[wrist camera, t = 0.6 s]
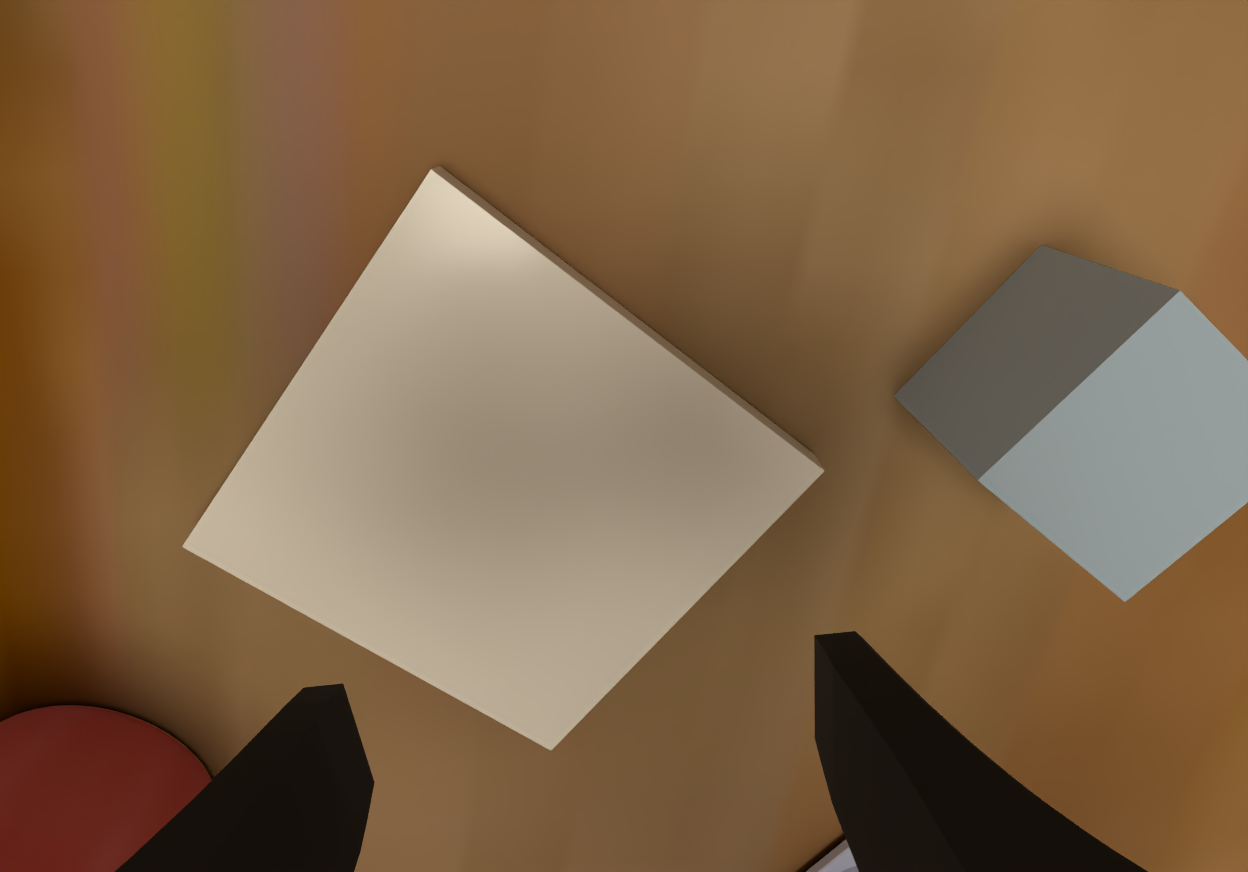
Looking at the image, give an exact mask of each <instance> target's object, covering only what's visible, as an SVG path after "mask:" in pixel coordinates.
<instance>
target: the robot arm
mask: <svg viewBox="0 0 1248 872" xmlns="http://www.w3.org/2000/svg"><path fill="white" fill-rule="evenodd" d="M815 740H816V744H817V748H818V752H819V756H820V760H821V763H822V767H823V771H824V775H825V778H826V782H827V786H828V789H829V793H830V796H831V800H832V804H833V806H834V809H835V812H836V814H837V817H838V819H839V822H840V825H841V827H842V830H843V832H844V835H845V838H846V840H844V841H843V842H842V843H841V844H839V845H838V846H837V847H836V848H834V849H833V850H832V851H831V852H829V853H828V854H827V855H826V856H825V857H823V858H822V859H821V860H820V861H818V862H817V863H816V864H815V865H813V866H812V867H811V868H810V869H808V870H807V871H806V872H1148V871H1146V870H1144V869H1143V868H1141V867H1140V866H1138V865H1136V864H1135V863H1133V862H1132V861H1130V860H1128V859H1127V858H1125V857H1124V856H1122V855H1120V854H1119V853H1117V852H1116V851H1114V850H1112V849H1111V848H1110V847H1108V846H1107V845H1105V844H1104V843H1102V842H1101V841H1099V840H1098V839H1096V838H1095V837H1093V836H1092V835H1090V834H1089V833H1087V832H1086V831H1084V830H1083V829H1081V828H1080V827H1079V826H1077V825H1076V824H1074V823H1073V822H1072V821H1070V820H1069V819H1067V818H1066V817H1065V816H1063V815H1062V814H1060V813H1059V812H1058V811H1056V810H1055V809H1053V808H1052V807H1051V806H1049V805H1048V804H1047V803H1045V802H1044V801H1042V800H1041V799H1040V798H1039V797H1037V796H1036V795H1035V794H1033V793H1032V792H1031V791H1029V790H1028V789H1027V788H1026V787H1024V786H1023V785H1022V784H1021V783H1019V782H1018V781H1017V780H1015V779H1014V778H1013V777H1012V776H1010V775H1009V774H1008V773H1007V772H1006V771H1004V770H1003V769H1002V768H1001V767H1000V766H998V765H997V764H996V763H995V762H994V761H992V760H991V759H990V758H989V757H987V756H986V755H985V754H984V753H983V752H982V751H980V750H979V749H978V748H977V747H976V746H975V745H973V744H972V743H971V742H970V741H969V740H968V739H967V738H965V737H964V736H963V735H962V734H961V733H960V732H959V731H958V730H957V729H955V728H954V727H953V726H952V725H951V724H950V723H949V722H948V721H947V720H946V719H944V718H943V717H942V716H941V715H940V714H939V713H938V712H937V711H936V710H935V709H934V708H932V707H931V706H930V705H929V704H928V703H927V702H926V701H925V700H924V699H923V698H922V697H921V696H920V695H919V694H918V693H917V692H916V691H915V690H914V689H913V688H912V687H911V686H910V685H909V684H907V683H906V682H905V681H904V680H903V679H902V678H901V677H900V676H899V675H898V674H897V673H896V672H895V671H894V670H893V669H892V668H891V667H890V666H889V665H888V664H887V663H886V661H885V660H884V659H883V658H882V657H881V656H880V655H879V654H878V653H877V652H876V651H875V650H874V649H873V648H872V647H871V646H870V645H869V644H868V643H867V642H866V641H865V640H864V639H863V638H862V637H861V636H860V635H859V634H858V633H856V632H855V631H853V632H843V633H833V634H823V635H815ZM373 787H374V780H373V777H372V774H371V770H370V767H369V764H368V761H367V758H366V755H365V751H364V748H363V745H362V742H361V739H360V736H359V732H358V729H357V726H356V723H355V720H354V717H353V713H352V710H351V707H350V704H349V701H348V698H347V694H346V691H345V688H344V685H343V684H335V685H325V686H316V687H306V688H303V689H302V690H301V691H300V692H299V693H298V694H297V695H296V696H295V697H294V698H292V699H291V700H290V701H289V702H288V703H287V704H286V705H285V706H284V707H283V708H282V709H281V710H280V712H279V713H278V714H277V715H276V716H275V717H274V718H273V719H272V720H271V721H270V722H269V723H268V724H267V725H266V726H265V727H264V728H263V729H262V730H261V731H260V732H259V733H258V734H257V735H256V736H255V737H254V738H253V739H252V740H251V741H250V742H249V743H248V744H247V745H246V746H245V747H244V748H243V749H242V750H241V752H240V753H239V754H238V755H237V756H236V757H235V758H234V759H233V760H232V761H231V762H230V763H229V764H228V765H227V766H226V767H225V768H224V769H223V770H222V771H221V772H220V773H219V774H218V775H217V776H216V777H215V778H214V779H213V780H212V781H211V782H210V783H209V784H208V785H207V786H206V787H205V788H204V789H203V790H202V791H201V792H200V793H199V794H198V795H197V796H196V797H195V798H194V799H193V800H191V801H190V802H189V803H188V804H187V805H186V806H185V807H184V808H183V809H182V810H181V811H180V812H179V813H178V814H176V815H175V816H174V817H173V818H172V819H171V820H170V821H169V822H168V823H167V824H166V825H165V826H164V827H163V828H162V829H160V830H159V831H158V832H157V833H156V834H155V835H154V836H153V837H152V838H151V839H150V840H149V841H148V842H147V843H145V844H144V845H143V846H142V847H141V848H140V849H139V850H138V851H137V852H136V853H135V854H134V855H133V856H132V857H130V858H129V859H128V860H127V861H126V862H125V863H124V864H123V865H121V866H120V867H119V868H118V869H117V870H116V871H115V872H354V870H355V867H356V863H357V860H358V857H359V854H360V851H361V846H362V842H363V837H364V832H365V828H366V823H367V819H368V813H369V808H370V803H371V797H372V792H373Z"/></svg>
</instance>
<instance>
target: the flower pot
mask: <svg viewBox="0 0 1248 872" xmlns="http://www.w3.org/2000/svg"><path fill="white" fill-rule="evenodd" d="M211 781H212V780H211V778H210V776H209V774H208V772H207V770H206V769H205V767H204V766H203V764H202V763H201V762H200V761H199V759H198V758H197V757H196V756H195V755H194V754H193V753H192V752H191V751H190V750H189V749H188V748H187V747H186V746H185V745H184V744H182V743H181V742H180V741H178V740H177V739H176V738H174V737H173V736H171V735H170V734H168V733H167V732H165V731H163V730H161V729H160V728H158V727H156V726H154V725H152V724H150V723H148V722H145V721H143V720H141V719H138V718H136V717H133V716H130V715H127V714H124V713H121V712H118V711H113V710H109V709H104V708H99V707H91V706H79V705H59V706H49V707H43V708H38V709H33V710H30V711H26V712H22V713H19V714H17V715H14V716H12V717H10V718H8V719H6V720H4V721H2V722H0V872H115V871H116V870H117V869H118V868H119V867H120V866H121V865H123V864H124V863H125V862H126V861H127V860H128V859H129V858H130V857H132V856H133V855H134V854H135V853H136V852H137V851H138V850H139V849H140V848H141V847H142V846H143V845H144V844H145V843H147V842H148V841H149V840H150V839H151V838H152V837H153V836H154V835H155V834H156V833H157V832H158V831H159V830H160V829H162V828H163V827H164V826H165V825H166V824H167V823H168V822H169V821H170V820H171V819H172V818H173V817H174V816H175V815H176V814H178V813H179V812H180V811H181V810H182V809H183V808H184V807H185V806H186V805H187V804H188V803H189V802H190V801H191V800H193V799H194V798H195V797H196V796H197V795H198V794H199V793H200V792H201V791H202V790H203V789H204V788H205V787H206V786H207V785H208V784H209V783H210V782H211Z"/></svg>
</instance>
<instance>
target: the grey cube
mask: <svg viewBox="0 0 1248 872" xmlns="http://www.w3.org/2000/svg"><path fill="white" fill-rule="evenodd" d="M894 397H895V398H896V399H897V400H898V401H899V402H900V403H901V404H902V405H903V406H904V407H905V408H906V409H907V410H908V411H909V412H910V413H911V414H912V415H913V416H914V417H915V418H916V419H917V420H918V421H919V422H920V423H921V424H922V425H923V426H924V427H925V428H926V429H927V430H928V431H929V432H930V433H931V434H932V435H933V436H934V437H935V438H936V439H937V440H938V441H939V442H940V443H941V444H942V445H943V446H944V447H945V448H946V449H947V450H948V451H949V452H950V453H951V454H952V455H953V456H954V457H955V458H956V459H957V460H958V461H959V462H960V463H961V464H962V465H963V466H964V467H965V468H966V469H967V470H968V471H969V472H970V473H971V474H972V475H973V476H974V477H975V478H976V479H977V480H978V481H979V482H980V483H981V484H982V485H984V486H985V487H986V488H987V489H989V490H990V491H991V492H992V493H993V494H995V495H996V496H997V497H998V498H999V499H1001V500H1002V501H1003V502H1004V503H1005V504H1007V505H1008V506H1009V507H1010V508H1012V509H1013V510H1014V511H1015V512H1016V513H1018V514H1019V515H1020V516H1021V517H1022V518H1024V519H1025V520H1026V521H1027V522H1028V523H1030V524H1031V525H1032V526H1033V527H1035V528H1036V529H1037V530H1038V531H1039V532H1041V533H1042V534H1043V535H1044V536H1045V537H1047V538H1048V539H1049V540H1050V541H1052V542H1053V543H1054V544H1055V545H1056V546H1058V547H1059V548H1060V549H1061V550H1062V551H1064V552H1065V553H1066V554H1067V555H1068V556H1070V557H1071V558H1072V559H1073V560H1075V561H1076V562H1077V563H1078V564H1079V565H1081V566H1082V567H1083V568H1084V569H1085V570H1087V571H1088V572H1089V573H1090V574H1092V575H1093V576H1094V577H1095V578H1096V579H1098V580H1099V581H1100V582H1101V583H1102V584H1104V585H1105V586H1106V587H1107V588H1108V589H1110V590H1111V591H1112V592H1113V593H1115V594H1116V595H1117V596H1118V597H1119V598H1121V599H1122V600H1123V601H1124V602H1126V601H1127V600H1128V599H1129V598H1131V597H1132V596H1133V595H1134V594H1135V593H1137V592H1138V591H1139V590H1140V589H1142V588H1143V587H1144V586H1145V585H1147V584H1148V583H1149V582H1150V581H1151V580H1153V579H1154V578H1155V577H1156V576H1158V575H1159V574H1160V573H1161V572H1162V571H1164V570H1165V569H1166V568H1167V567H1169V566H1170V565H1171V564H1172V563H1174V562H1175V561H1176V560H1177V559H1178V558H1180V557H1181V556H1182V555H1183V554H1185V553H1186V552H1187V551H1188V550H1189V549H1191V548H1192V547H1193V546H1194V545H1196V544H1197V543H1198V542H1199V541H1201V540H1202V539H1203V538H1204V537H1205V536H1207V535H1208V534H1209V533H1210V532H1212V531H1213V530H1214V529H1215V528H1216V527H1218V526H1219V525H1220V524H1221V523H1223V522H1224V521H1225V520H1226V519H1228V518H1229V517H1230V516H1231V515H1232V514H1234V513H1235V512H1236V511H1237V510H1239V509H1240V508H1241V507H1242V506H1243V505H1245V504H1246V503H1247V502H1248V361H1247V360H1246V358H1245V357H1244V356H1243V355H1242V354H1241V353H1240V352H1239V351H1238V350H1237V349H1236V348H1235V347H1234V346H1233V345H1232V344H1231V343H1230V342H1229V341H1228V340H1227V339H1226V338H1225V337H1224V336H1223V335H1222V334H1221V333H1220V331H1219V330H1218V329H1217V328H1216V327H1215V326H1214V325H1213V324H1212V323H1211V322H1210V321H1209V320H1208V319H1207V318H1206V317H1205V316H1204V315H1203V314H1202V313H1201V312H1200V311H1199V310H1198V309H1197V308H1196V307H1195V306H1194V304H1193V303H1192V302H1191V301H1190V300H1189V299H1188V298H1187V297H1186V296H1185V295H1184V294H1183V293H1182V292H1181V291H1180V290H1177V289H1174V288H1171V287H1168V286H1165V285H1162V284H1159V283H1156V282H1153V281H1150V280H1146V279H1143V278H1140V277H1137V276H1134V275H1131V274H1128V273H1125V272H1122V271H1119V270H1116V269H1113V268H1110V267H1107V266H1104V265H1101V264H1098V263H1095V262H1092V261H1089V260H1086V259H1082V258H1079V257H1076V256H1073V255H1070V254H1067V253H1064V252H1061V251H1058V250H1055V249H1052V248H1049V247H1046V246H1043V245H1041V246H1040V247H1039V248H1038V249H1037V250H1036V251H1035V252H1034V253H1033V254H1032V255H1031V256H1030V257H1029V258H1028V259H1027V260H1026V261H1025V262H1024V263H1023V264H1022V265H1021V266H1020V267H1019V268H1018V269H1017V270H1016V271H1015V272H1014V273H1013V274H1012V275H1011V276H1010V277H1009V278H1008V279H1007V281H1006V282H1005V283H1004V284H1003V285H1002V286H1001V287H1000V288H999V289H998V290H997V291H996V292H995V293H994V294H993V295H992V296H991V297H990V298H989V299H988V300H987V301H986V302H985V303H984V304H983V305H982V306H981V307H980V308H979V309H978V310H977V311H976V312H975V313H974V314H973V315H972V316H971V317H970V318H969V319H968V320H967V321H966V322H965V323H964V325H963V326H962V327H961V328H960V329H959V330H958V331H957V332H956V333H955V334H954V335H953V336H952V337H951V338H950V339H949V340H948V341H947V342H946V343H945V344H944V345H943V346H942V347H941V348H940V349H939V350H938V351H937V352H936V353H935V354H934V355H933V356H932V357H931V358H930V359H929V360H928V361H927V362H926V363H925V364H924V365H923V366H922V367H921V369H920V370H919V371H918V372H917V373H916V374H915V375H914V376H913V377H912V378H911V379H910V380H909V381H908V382H907V383H906V384H905V385H904V386H903V387H902V388H901V389H900V390H899V391H898V392H897V393H896V394H895V395H894Z"/></svg>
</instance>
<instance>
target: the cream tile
mask: <svg viewBox="0 0 1248 872" xmlns="http://www.w3.org/2000/svg"><path fill="white" fill-rule="evenodd" d="M823 472H824V469H823V467H822V466H821V464H820V462H819V461H818V459H817V457H816V456H815V454H813V453H812V452H811V451H809V450H808V449H807V448H806V447H804V446H803V445H802V444H800V443H799V442H798V441H796V440H795V439H794V438H793V437H791V436H790V435H789V434H787V433H786V432H785V431H783V430H782V429H781V428H780V427H778V426H777V425H776V424H774V423H773V422H772V421H770V420H769V419H768V418H767V417H765V416H764V415H763V414H761V413H760V412H759V411H757V410H756V409H755V408H754V407H752V406H751V405H750V404H748V403H747V402H746V401H745V400H743V399H742V398H741V397H739V396H738V395H737V394H735V393H734V392H733V391H732V390H730V389H729V388H728V387H726V386H725V385H724V384H722V383H721V382H720V381H719V380H717V379H716V378H715V377H713V376H712V375H711V374H709V373H708V372H707V371H706V370H704V369H703V368H702V367H700V366H699V365H698V364H697V363H695V362H694V361H693V360H691V359H690V358H689V357H687V356H686V355H685V354H684V353H682V352H681V351H680V350H678V349H677V348H676V347H674V346H673V345H672V344H671V343H669V342H668V341H667V340H665V339H664V338H663V337H661V336H660V335H659V334H658V333H656V332H655V331H654V330H652V329H651V328H650V327H648V326H647V325H646V324H645V323H643V322H642V321H641V320H639V319H638V318H637V317H636V316H634V315H633V314H632V313H630V312H629V311H628V310H626V309H625V308H624V307H623V306H621V305H620V304H619V303H617V302H616V301H615V300H613V299H612V298H611V297H610V296H608V295H607V294H606V293H604V292H603V291H602V290H600V289H599V288H598V287H597V286H595V285H594V284H593V283H591V282H590V281H589V280H587V279H586V278H585V277H584V276H582V275H581V274H580V273H578V272H577V271H576V270H575V269H573V268H572V267H571V266H569V265H568V264H567V263H565V262H564V261H563V260H562V259H560V258H559V257H558V256H556V255H555V254H554V253H552V252H551V251H550V250H549V249H547V248H546V247H545V246H543V245H542V244H541V243H539V242H538V241H537V240H536V239H534V238H533V237H532V236H530V235H529V234H528V233H526V232H525V231H524V230H523V229H521V228H520V227H519V226H517V225H516V224H515V223H514V222H512V221H511V220H510V219H508V218H507V217H506V216H504V215H503V214H502V213H501V212H499V211H498V210H497V209H495V208H494V207H493V206H491V205H490V204H489V203H488V202H486V201H485V200H484V199H482V198H481V197H480V196H478V195H477V194H476V193H475V192H473V191H472V190H471V189H469V188H468V187H467V186H466V185H464V184H463V183H462V182H460V181H459V180H458V179H456V178H455V177H454V176H453V175H451V174H450V173H449V172H447V171H446V170H445V169H443V168H442V167H441V166H438V167H435V168H433V169H431V170H430V172H429V173H428V175H427V176H426V178H425V179H424V181H423V182H422V184H421V185H420V187H419V188H418V190H417V191H416V193H415V194H414V196H413V197H412V199H411V201H410V202H409V204H408V205H407V207H406V208H405V210H404V211H403V213H402V214H401V216H400V217H399V219H398V220H397V222H396V223H395V225H394V226H393V228H392V229H391V231H390V232H389V234H388V235H387V237H386V238H385V240H384V241H383V243H382V244H381V246H380V248H379V249H378V251H377V252H376V254H375V255H374V257H373V258H372V260H371V261H370V263H369V264H368V266H367V267H366V269H365V270H364V272H363V273H362V275H361V276H360V278H359V279H358V281H357V282H356V284H355V285H354V287H353V288H352V290H351V292H350V293H349V295H348V296H347V298H346V299H345V301H344V302H343V304H342V305H341V307H340V308H339V310H338V311H337V313H336V314H335V316H334V317H333V319H332V320H331V322H330V323H329V325H328V326H327V328H326V329H325V331H324V332H323V334H322V335H321V337H320V339H319V340H318V342H317V343H316V345H315V346H314V348H313V349H312V351H311V352H310V354H309V355H308V357H307V358H306V360H305V361H304V363H303V364H302V366H301V367H300V369H299V370H298V372H297V373H296V375H295V376H294V378H293V379H292V381H291V383H290V384H289V386H288V387H287V389H286V390H285V392H284V393H283V395H282V396H281V398H280V399H279V401H278V402H277V404H276V405H275V407H274V408H273V410H272V411H271V413H270V414H269V416H268V417H267V419H266V420H265V422H264V423H263V425H262V426H261V428H260V430H259V431H258V433H257V434H256V436H255V437H254V439H253V440H252V442H251V443H250V445H249V446H248V448H247V449H246V451H245V452H244V454H243V455H242V457H241V458H240V460H239V461H238V463H237V464H236V466H235V467H234V469H233V470H232V472H231V473H230V475H229V477H228V478H227V480H226V481H225V483H224V484H223V486H222V487H221V489H220V490H219V492H218V493H217V495H216V496H215V498H214V499H213V501H212V502H211V504H210V505H209V507H208V508H207V510H206V511H205V513H204V514H203V516H202V517H201V519H200V521H199V522H198V524H197V525H196V527H195V528H194V530H193V531H192V533H191V534H190V536H189V537H188V539H187V540H186V542H185V543H184V545H183V546H182V547H183V548H185V549H187V550H189V551H191V552H192V553H194V554H196V555H198V556H200V557H201V558H203V559H205V560H207V561H209V562H211V563H212V564H214V565H216V566H218V567H220V568H221V569H223V570H225V571H227V572H229V573H230V574H232V575H234V576H236V577H238V578H239V579H241V580H243V581H245V582H247V583H249V584H250V585H252V586H254V587H256V588H258V589H259V590H261V591H263V592H265V593H267V594H268V595H270V596H272V597H274V598H276V599H277V600H279V601H281V602H283V603H285V604H287V605H288V606H290V607H292V608H294V609H296V610H297V611H299V612H301V613H303V614H305V615H306V616H308V617H310V618H312V619H314V620H315V621H317V622H319V623H321V624H323V625H325V626H326V627H328V628H330V629H332V630H334V631H335V632H337V633H339V634H341V635H343V636H344V637H346V638H348V639H350V640H352V641H353V642H355V643H357V644H359V645H361V646H363V647H364V648H366V649H368V650H370V651H372V652H373V653H375V654H377V655H379V656H381V657H382V658H384V659H386V660H388V661H390V662H391V663H393V664H395V665H397V666H399V667H401V668H402V669H404V670H406V671H408V672H410V673H411V674H413V675H415V676H417V677H419V678H420V679H422V680H424V681H426V682H428V683H429V684H431V685H433V686H435V687H437V688H439V689H440V690H442V691H444V692H446V693H448V694H449V695H451V696H453V697H455V698H457V699H458V700H460V701H462V702H464V703H466V704H467V705H469V706H471V707H473V708H475V709H477V710H478V711H480V712H482V713H484V714H486V715H487V716H489V717H491V718H493V719H495V720H496V721H498V722H500V723H502V724H504V725H505V726H507V727H509V728H511V729H513V730H515V731H516V732H518V733H520V734H522V735H524V736H525V737H527V738H529V739H531V740H533V741H534V742H536V743H538V744H540V745H542V746H543V747H545V748H547V749H549V750H552V749H553V748H554V747H555V746H556V745H557V744H558V743H559V742H560V741H561V740H562V739H563V738H564V737H565V736H566V735H567V734H568V733H569V732H570V731H571V730H572V729H573V728H574V727H575V726H576V724H577V723H578V722H579V721H580V720H581V719H582V718H583V717H584V716H585V715H586V714H587V713H588V712H589V711H590V710H591V709H592V708H593V707H594V706H595V705H596V704H597V703H598V702H599V701H600V700H601V699H602V698H603V697H604V696H605V695H606V694H607V693H608V692H609V691H610V690H611V689H612V688H613V687H614V686H615V685H616V684H617V683H618V682H619V681H620V680H621V679H622V678H623V676H624V675H625V674H626V673H627V672H628V671H629V670H630V669H631V668H632V667H633V666H634V665H635V664H636V663H637V662H638V661H639V660H640V659H641V658H642V657H643V656H644V655H645V654H646V653H647V652H648V651H649V650H650V649H651V648H652V647H653V646H654V645H655V644H656V643H657V642H658V641H659V640H660V639H661V638H662V637H663V636H664V635H665V634H666V633H667V632H668V631H669V629H670V628H671V627H672V626H673V625H674V624H675V623H676V622H677V621H678V620H679V619H680V618H681V617H682V616H683V615H684V614H685V613H686V612H687V611H688V610H689V609H690V608H691V607H692V606H693V605H694V604H695V603H696V602H697V601H698V600H699V599H700V598H701V597H702V596H703V595H704V594H705V593H706V592H707V591H708V590H709V589H710V588H711V587H712V586H713V585H714V584H715V582H716V581H717V580H718V579H719V578H720V577H721V576H722V575H723V574H724V573H725V572H726V571H727V570H728V569H729V568H730V567H731V566H732V565H733V564H734V563H735V562H736V561H737V560H738V559H739V558H740V557H741V556H742V555H743V554H744V553H745V552H746V551H747V550H748V549H749V548H750V547H751V546H752V545H753V544H754V543H755V542H756V541H757V540H758V539H759V538H760V537H761V536H762V534H763V533H764V532H765V531H766V530H767V529H768V528H769V527H770V526H771V525H772V524H773V523H774V522H775V521H776V520H777V519H778V518H779V517H780V516H781V515H782V514H783V513H784V512H785V511H786V510H787V509H788V508H789V507H790V506H791V505H792V504H793V503H794V502H795V501H796V500H797V499H798V498H799V497H800V496H801V495H802V494H803V493H804V492H805V491H806V490H807V489H808V487H809V486H810V485H811V484H812V483H813V482H814V481H815V480H816V479H817V478H818V477H819V476H820V475H821V474H822V473H823Z"/></svg>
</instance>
